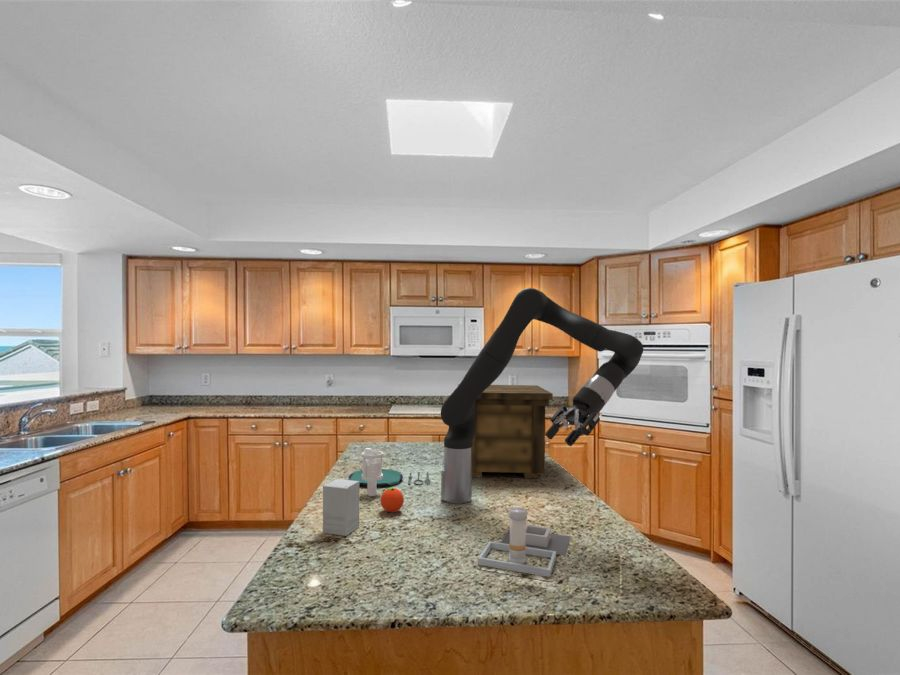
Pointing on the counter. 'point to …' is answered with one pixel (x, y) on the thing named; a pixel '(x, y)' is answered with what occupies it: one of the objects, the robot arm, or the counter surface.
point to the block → (543, 539)
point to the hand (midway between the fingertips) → (557, 440)
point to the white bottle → (517, 535)
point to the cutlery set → (386, 478)
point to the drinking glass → (372, 470)
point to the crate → (510, 430)
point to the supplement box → (340, 507)
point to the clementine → (392, 500)
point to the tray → (516, 566)
